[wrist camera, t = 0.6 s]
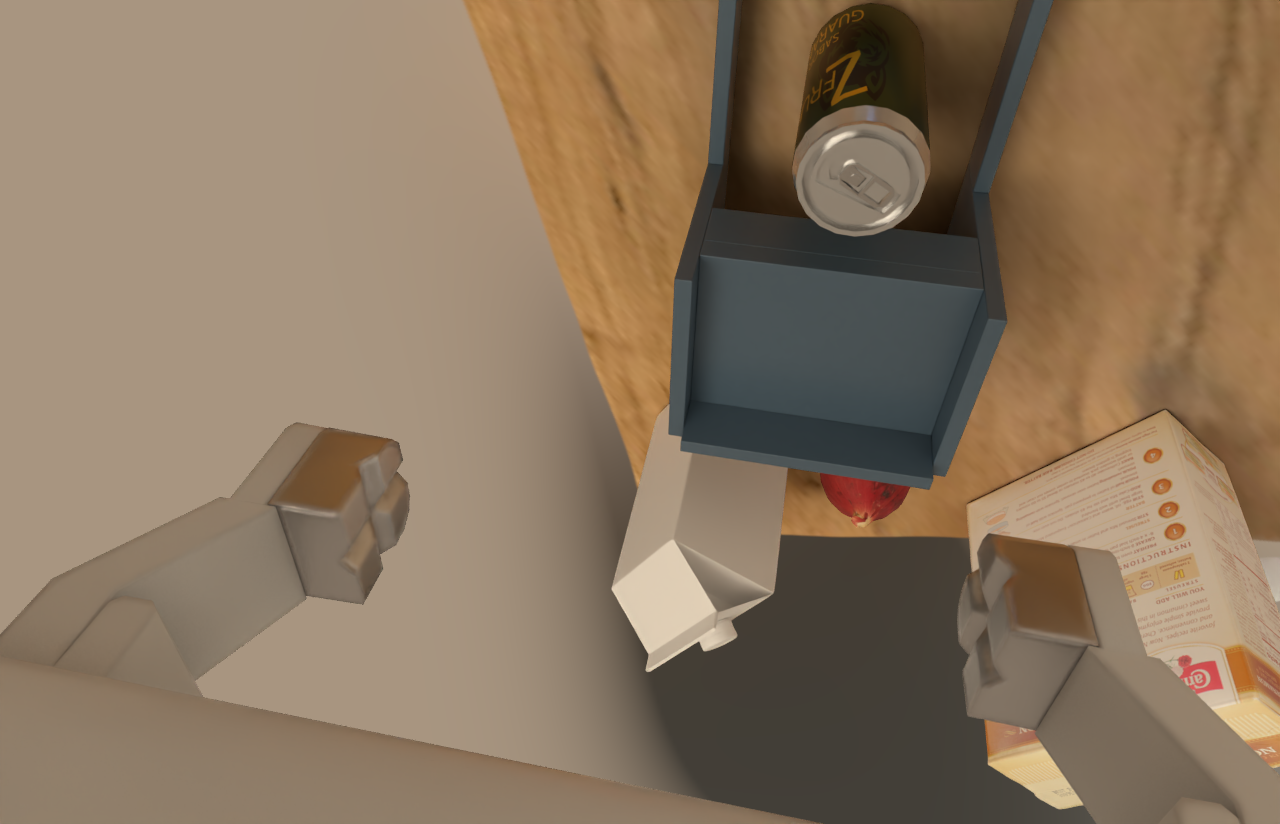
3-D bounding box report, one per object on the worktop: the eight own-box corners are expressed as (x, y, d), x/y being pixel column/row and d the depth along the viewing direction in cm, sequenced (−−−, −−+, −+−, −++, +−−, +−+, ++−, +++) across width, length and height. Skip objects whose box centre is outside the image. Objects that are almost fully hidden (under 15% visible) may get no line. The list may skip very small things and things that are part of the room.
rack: (731, -68, 39) (678, 61, 30) (1051, -46, 37) (1107, 100, 28) (705, 284, 54) (664, 448, 44) (936, 314, 52) (946, 492, 42)
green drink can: (948, 41, 41) (963, 170, 32) (871, 127, 44) (866, 263, 36) (859, -27, 39) (850, 89, 31) (787, 68, 43) (762, 194, 35)
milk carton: (656, 415, 63) (595, 646, 50) (710, 359, 58) (659, 600, 45) (735, 460, 64) (696, 696, 51) (795, 410, 60) (768, 656, 47)
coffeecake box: (1023, 550, 65) (1058, 813, 52) (961, 502, 63) (981, 765, 49) (1230, 465, 55) (1339, 763, 42) (1166, 405, 53) (1259, 700, 40)
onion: (880, 392, 57) (879, 484, 51) (927, 443, 59) (930, 536, 54) (807, 424, 60) (799, 513, 55) (854, 472, 63) (850, 562, 57)
